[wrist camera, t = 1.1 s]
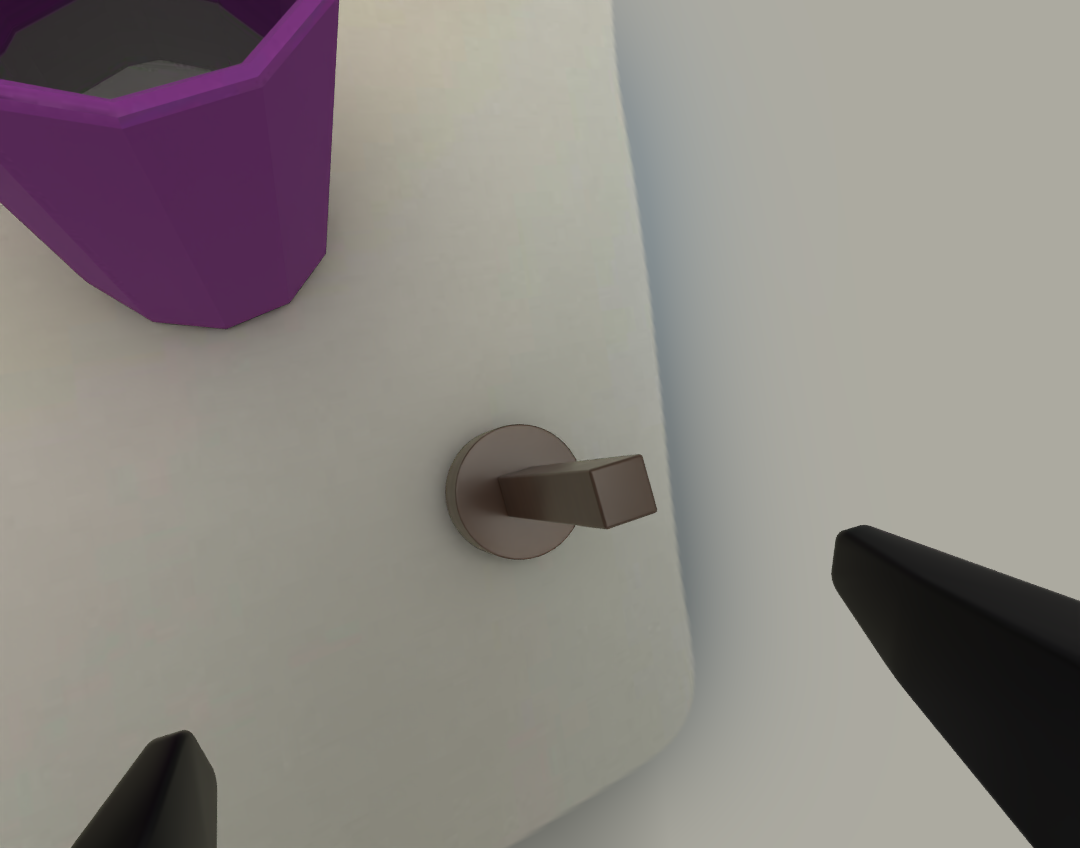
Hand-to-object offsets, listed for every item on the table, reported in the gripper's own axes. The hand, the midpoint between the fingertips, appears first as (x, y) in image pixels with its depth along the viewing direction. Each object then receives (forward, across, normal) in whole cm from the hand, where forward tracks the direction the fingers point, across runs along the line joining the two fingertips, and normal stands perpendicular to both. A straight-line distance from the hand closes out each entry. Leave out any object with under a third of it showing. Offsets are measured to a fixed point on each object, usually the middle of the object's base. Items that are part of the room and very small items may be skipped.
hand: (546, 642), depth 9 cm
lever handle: (+16, -2, +9) cm, 19 cm away
